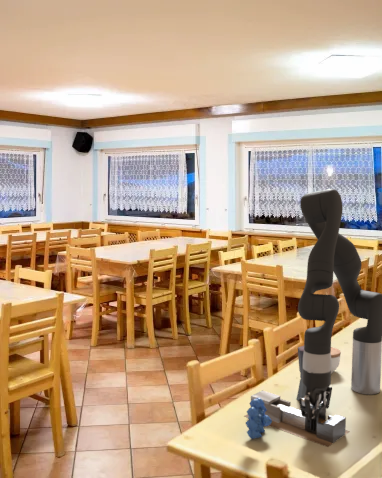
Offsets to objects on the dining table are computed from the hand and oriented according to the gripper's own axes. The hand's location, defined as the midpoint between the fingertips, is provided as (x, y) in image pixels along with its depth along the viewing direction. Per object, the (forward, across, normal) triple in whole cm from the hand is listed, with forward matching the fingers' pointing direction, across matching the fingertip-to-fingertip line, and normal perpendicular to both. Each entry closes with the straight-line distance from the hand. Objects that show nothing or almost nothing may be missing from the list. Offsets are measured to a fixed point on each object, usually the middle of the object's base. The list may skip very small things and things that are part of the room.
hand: (315, 427), depth 149 cm
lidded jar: (+3, -48, -24) cm, 54 cm away
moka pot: (+3, -18, -12) cm, 22 cm away
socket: (+1, 0, +5) cm, 5 cm away
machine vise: (+2, 0, -6) cm, 7 cm away
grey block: (+1, 0, -3) cm, 3 cm away
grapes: (+3, +13, -9) cm, 16 cm away
